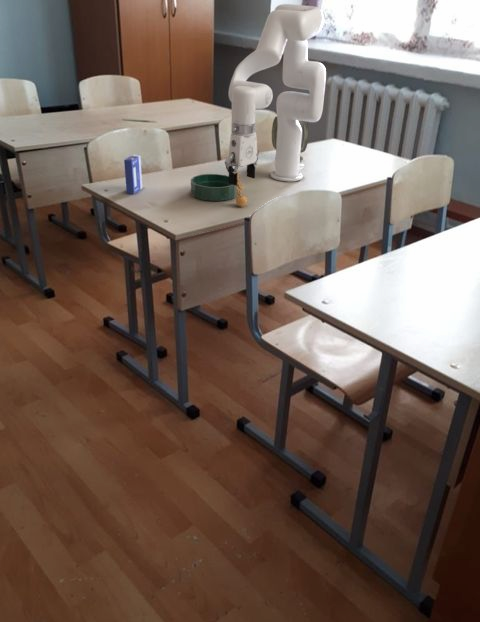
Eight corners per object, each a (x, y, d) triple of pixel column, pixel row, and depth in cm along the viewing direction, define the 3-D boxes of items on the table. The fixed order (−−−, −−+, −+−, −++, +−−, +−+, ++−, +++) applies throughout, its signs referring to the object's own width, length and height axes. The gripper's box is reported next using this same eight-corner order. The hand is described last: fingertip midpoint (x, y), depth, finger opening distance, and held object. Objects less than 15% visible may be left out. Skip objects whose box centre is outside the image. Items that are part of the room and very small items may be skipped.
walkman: (133, 194, 209) (131, 159, 202) (126, 193, 209) (123, 158, 203) (143, 187, 215) (141, 154, 209) (135, 186, 216) (133, 153, 209)
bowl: (211, 184, 223) (211, 171, 220) (245, 194, 216) (245, 180, 213) (181, 194, 212) (181, 180, 209) (216, 205, 204) (216, 190, 202)
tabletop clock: (273, 161, 255) (277, 99, 241) (269, 156, 262) (272, 95, 249) (306, 161, 258) (311, 100, 244) (301, 156, 265) (306, 96, 252)
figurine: (252, 209, 202) (253, 174, 196) (236, 211, 200) (237, 176, 193) (240, 201, 208) (242, 167, 202) (225, 203, 206) (226, 169, 199)
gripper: (235, 135, 183) (234, 189, 193) (268, 125, 195) (266, 177, 205) (216, 130, 187) (216, 184, 196) (250, 121, 199) (248, 172, 208)
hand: (242, 180), depth 201 cm, fingers open, 9 cm apart
